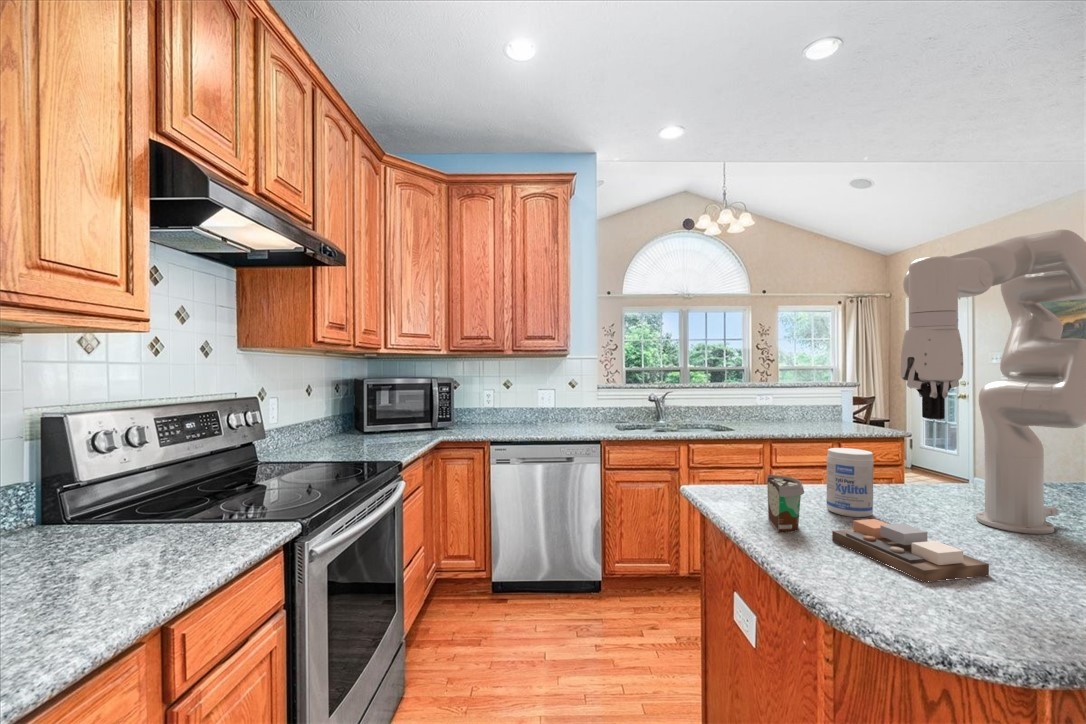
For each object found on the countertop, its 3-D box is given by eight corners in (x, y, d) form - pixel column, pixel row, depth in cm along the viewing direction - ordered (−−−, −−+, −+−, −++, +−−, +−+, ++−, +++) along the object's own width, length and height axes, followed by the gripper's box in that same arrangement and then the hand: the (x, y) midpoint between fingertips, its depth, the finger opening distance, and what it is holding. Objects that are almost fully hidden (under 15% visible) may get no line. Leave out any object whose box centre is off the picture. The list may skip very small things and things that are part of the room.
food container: (812, 536, 106) (812, 488, 106) (780, 534, 107) (780, 486, 107) (795, 518, 118) (795, 475, 118) (766, 517, 119) (766, 474, 119)
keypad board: (887, 536, 106) (887, 522, 106) (988, 575, 86) (988, 558, 86) (832, 540, 103) (832, 526, 103) (924, 582, 84) (924, 564, 84)
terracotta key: (874, 528, 104) (874, 518, 104) (896, 537, 99) (896, 526, 99) (853, 530, 103) (853, 520, 103) (873, 538, 98) (873, 528, 98)
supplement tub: (836, 517, 119) (835, 453, 119) (820, 506, 128) (819, 447, 128) (881, 519, 117) (881, 454, 117) (862, 507, 127) (862, 447, 127)
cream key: (935, 551, 91) (935, 540, 91) (963, 562, 86) (963, 550, 86) (911, 554, 90) (911, 542, 90) (938, 565, 86) (938, 553, 86)
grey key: (902, 533, 98) (902, 523, 98) (927, 543, 93) (927, 531, 93) (880, 535, 97) (880, 525, 97) (904, 545, 92) (903, 533, 92)
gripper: (946, 324, 104) (946, 415, 104) (883, 323, 101) (883, 417, 101) (984, 321, 96) (985, 419, 96) (917, 320, 93) (918, 421, 93)
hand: (933, 418), depth 99 cm, fingers closed
